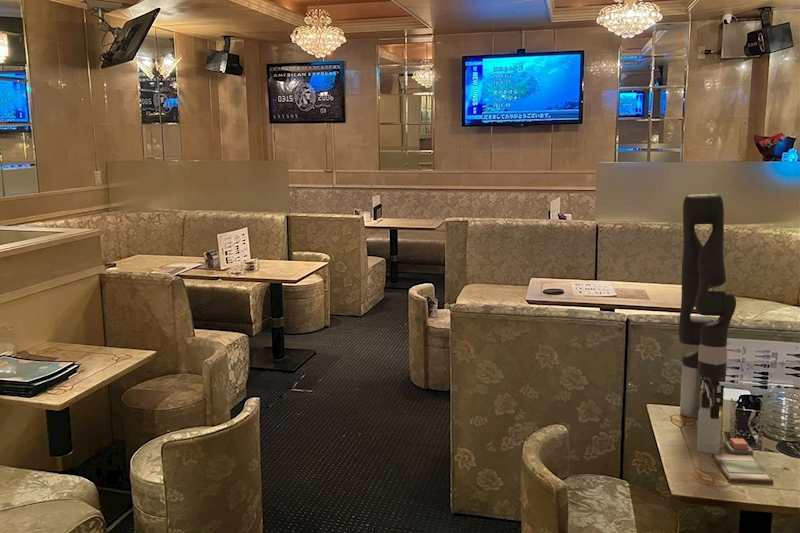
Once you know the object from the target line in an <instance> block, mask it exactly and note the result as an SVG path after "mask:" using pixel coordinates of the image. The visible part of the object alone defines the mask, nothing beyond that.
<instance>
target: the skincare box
mask: <svg viewBox="0 0 800 533" xmlns="http://www.w3.org/2000/svg"><path fill="white" fill-rule="evenodd" d="M721 415H722V412H721V411H719V418H718V419H712V418H711V417H710V410H709V409H702V408H700V410H699V412H698V419H697V440H696V442H697V443H696V451H697V452H702V453H706V454H720V451H721V440H722V438H721V437H722V433H721Z"/></svg>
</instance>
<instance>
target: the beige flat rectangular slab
mask: <svg viewBox="0 0 800 533" xmlns="http://www.w3.org/2000/svg"><path fill="white" fill-rule="evenodd" d="M710 454H711V456H710V458H711V459H712V460H713V462H714V464H716V466H717V467H718V469H719V470H720V471H721V473H722V474H723V476H724V477H725V478H726V481H728V483H739V484H740V483H741V484H742V483H743V484H747V483H748V484H766V485H768V484H770V485H774V479H773V478H772V477H771V476H770V475H769V474H768V472H767V471H766V470H765V468H763V466H762V465H761V464H760V463H759V461H758V460H757V459H756V458H755V457H754V455H753V456H752V455H735V454H728V453H727V454H726V453H719V454H712V453H710Z"/></svg>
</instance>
